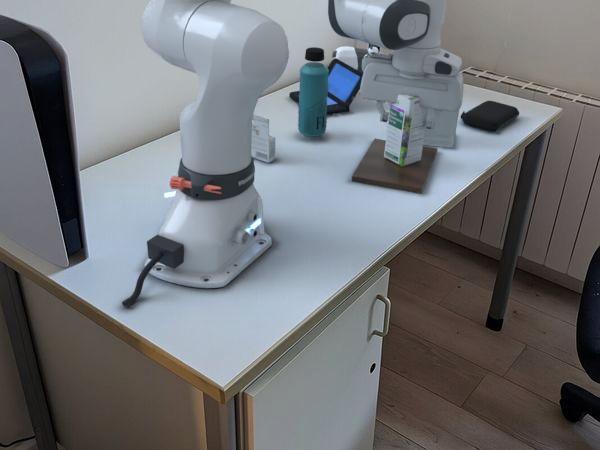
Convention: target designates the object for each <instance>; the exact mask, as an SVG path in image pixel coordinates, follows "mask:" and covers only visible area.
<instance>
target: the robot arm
mask: <svg viewBox="0 0 600 450" xmlns="http://www.w3.org/2000/svg"><path fill="white" fill-rule="evenodd" d="M327 2H328V3H327V15H328V21H329V25H330V27H331V28H332V31H334V33H336V35H337V36H340V37H342V38H347V39H352V40H356V41H360V42H363V43H366V44H368V45H372V46H374V47H377V48H378V47H379V48H381V49H384V50H390V51H392V53H383V52H380V53H377V52H370V54H366V55H365V56H364V57H363V59H362V71H363V72H364V73H363V77H362V81H361V86H360V90H359V94H360V96H361V98H362V99H365V100H371V101H376V102H375V107H376V108H377V110H378V112H379V114H380V115H379V116H380V117H379V122H382V123H388V118H389V111H386V109H385V106H384V105H385V103H390V102H391V103H396V102H397V98H398V95H409V96H418V97H419V99H420V101H419V106H420V107H424V108H431V109H434V114H435V116H434V117H433V118H428V120H427V126H426V129H432V130H433V129H434V126H435V121H436V120H437V119H438V118H439V117H440V115H441V113H442V110H444V111H451V112H456V111H458V110H459V111H460V109H461V107H462V104H463V99H464V76H463V73H462V72H461V69H462V65H463V60H462V58H461V57H460V56H459V55H456V54H454V53H452V52H449V51H447V50H446V49H443V48H442V47H441V45H442V38H441V32H442V31H441V30H442V27H443V25H444V23H445V19H446V18H445V17H446V10H447V2H448V1H447V0H328V1H327ZM140 26H141V36H142V39H143V41H144V43H145V45H146V46H147V47H148V49H149V50H150V51H152V52H153V53H154V54H156V55H157V56H158V57H159V58H160V59H162V60H164V61H165V62H167V63H168V64H170V65H171V66H173V67H174V66H175V67H178V68H180V69H181V70H184V71H185V70H186V71H189V72H191V73H193V74H196V75H197V78H198V82H199V87H198V93H197V97H196V99H194V100H192V101H191V102H190V103H188V104H187V105H186V106H185V107H184V109H182V111H181V113H180V116H179V134H180V135H179V137H180V151H181V158H180V160H179V166H178V168H177V175H172V176H171V177H170V181H169V186H170V189H173V190H175V191H170V192H164V195H163V196H164V198H170V197H172V200H171V202H170V204H169V207H168V209H167V210H166V214H165V216H164V219H163V221H162V223H161V226H160V228H159V233H158V234H156V235H154V236H153V237H151V238H149V239H148V240H146V247H147V259H146V260H145V262H144V267H143V269H142V271H141V272H140V273H139V275H138V277H137V279H136V283H135V288H134V291H133V292H132V294H131V295H130V296H129V297H127V298H126V299H124V300H123V301H122V302H121V304H122V306H123V307H124V308H127V307H129V306H130V305H132V304H134V303H135V302H136V301H137V300H138V298H139V297H140V295H141V293H142V290H143V286H144V283H145V282H144V281H145V280H146V278H147V276H148V275H149V274H150V275H151V276H153V277H154V278H157V279H160V280H161V281H165V282H168V283H171V284H175V285H180V286H183V287H184V286H185V287H191V288H197V289H198V288H199V289H216V288H217V289H218V288H223V287H226V286H227V285H228V284H230V282H231V281H233V280H235V278H236V277H237V276H238V275H239V274H241V273H242V272H244V270H246V269H247V268H248V267H249V266H250V265H251V264H252V263H254V261H256V260H257V259H258V258H259V257H260V256H262V255H263V253H265V252H266V251H267V250H268V249H270V248H271V246H272V245H273V241H272V237H271V236H270V235H269V234H268V233H267V232H266V231H265V220H264V219H265V218H264V205H263V198H262V197H261V195H260V194H259V192H258V190H257V189H256V187H255V184H254V182H255V174H256V165H255V158H253V157H252V156H251V143H252V123H253V120H252V119H253V115H254V114H255V113H254V112H255V109H256V106H257V103H258V101H259V99H260V97H261V96H262V94H263V93H264V92H265V91H266V90H267V89H268V88H271V87H273V85H275V83H276V82H278V81H279V80H280V78H281V77H282V75H283V74H284V72H285V71H286V68H287V65H288V63H289V59H290V58H289V57H290V43H289V39H288V35H287V32H286V30H285V29H284V27H283V26H282V25H281V24H279V23H278V22H277V21H275V20H273V19H272V18H270V17H268V16H267V15H265V14H263V13H261V12H259V11H258V10H256V9H253V8H249V7H245V6H241V5H237V4H235V3H232V0H150V1H149V2H148V3H147V5H146V7H145V9H144V11H143V14H142V17H141V24H140ZM367 56H370V57H367Z"/></svg>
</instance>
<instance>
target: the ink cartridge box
mask: <svg viewBox="0 0 600 450" xmlns="http://www.w3.org/2000/svg"><path fill="white" fill-rule="evenodd" d="M251 156H252V157H253V159H256V160H259V161H262V162H265V163H269V164H270V163H271V162H274V161H275V160H276V137H275V136H273V135H270V119H269V118H265V117H262V116H259V115H255V114H253V119H252V143H251Z"/></svg>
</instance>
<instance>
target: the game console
mask: <svg viewBox="0 0 600 450" xmlns="http://www.w3.org/2000/svg"><path fill="white" fill-rule="evenodd" d="M327 68H328V70H329V73H328V85H329V86H328V88H329V89H328V95H327V96H328V97H327V116H332V115H338V114H345V113H349V112H350V106H351V105H352V103H353V101H354V100H355V98H356V96H357V95H358V93H359V92H360V86H361V81H362V77H363V73H361V72H360V71H358V70H356V69H354V68H353V67H351V66H349V65H347V64H345V63H344V62H342V61H340V60H338V59H336V58H335V59H334V58H333V59H332V60H331V61H330V63H329V65H328V66H327ZM299 91H300V90H296V91H291V92H289V93H288V95H289V96H288V97H289V98H290V99H291V100H292V101H294V102H295V103H297V105H299V103H298V99H299Z"/></svg>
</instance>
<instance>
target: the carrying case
mask: <svg viewBox="0 0 600 450" xmlns="http://www.w3.org/2000/svg"><path fill="white" fill-rule="evenodd" d="M519 115H520V111H519V109H518V108H517V107H515V106H513V105H509V104H506V103H502V102H498V101H495V100H486V101H484V102H481V103H480V104H478V105H476V106H475V107H473V108H471V109H470V110H468V111H466V112H465V111H464V110H463V111H462V112H461V114H460V119H461V121H462V122H463V124H464V125H465V126H468V127H471V128H476V129H479V130H482V131H484V132H489V133H495V132H497V131H499V130H500V129H502V128H504V127H505V126H506V125H508V124H510V123H511V122H513V121H514V120H515V119H517V118H518V117H519Z"/></svg>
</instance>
